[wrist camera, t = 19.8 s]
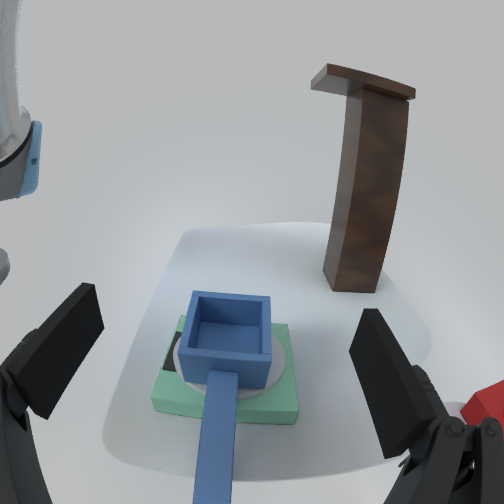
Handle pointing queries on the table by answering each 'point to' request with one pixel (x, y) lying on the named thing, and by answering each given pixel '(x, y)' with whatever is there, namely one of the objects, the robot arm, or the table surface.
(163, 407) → the scale
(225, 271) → the table surface
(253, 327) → the scoop
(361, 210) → the wooden pedestal stand
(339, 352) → the table surface
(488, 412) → the red block
